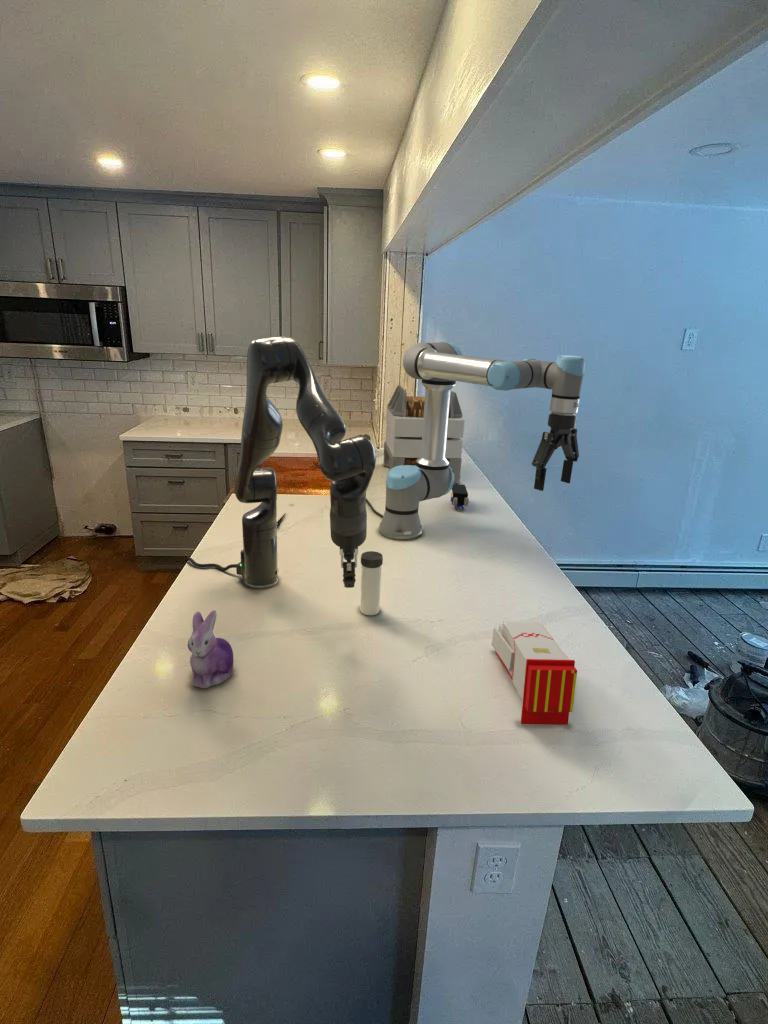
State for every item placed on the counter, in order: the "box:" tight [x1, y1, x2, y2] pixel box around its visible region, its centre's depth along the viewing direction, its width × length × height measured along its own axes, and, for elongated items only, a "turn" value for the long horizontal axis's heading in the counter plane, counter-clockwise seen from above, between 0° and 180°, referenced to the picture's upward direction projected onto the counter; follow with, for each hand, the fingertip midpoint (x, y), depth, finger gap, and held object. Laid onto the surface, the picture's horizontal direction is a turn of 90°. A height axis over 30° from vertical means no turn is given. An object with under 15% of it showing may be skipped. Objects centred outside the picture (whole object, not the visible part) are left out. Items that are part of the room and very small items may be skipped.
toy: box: [491, 621, 578, 726], centre depth 121 cm, size 12×13×30 cm
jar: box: [359, 564, 382, 616], centre depth 146 cm, size 5×5×15 cm
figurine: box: [187, 609, 234, 689], centre depth 117 cm, size 9×10×15 cm
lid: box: [360, 550, 384, 568], centre depth 144 cm, size 6×6×2 cm
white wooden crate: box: [383, 384, 465, 484], centre depth 268 cm, size 34×33×41 cm
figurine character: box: [449, 483, 470, 511], centre depth 230 cm, size 7×8×15 cm
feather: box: [276, 513, 286, 529], centre depth 210 cm, size 2×28×2 cm
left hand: (349, 571), depth 128 cm, fingers open, 8 cm apart
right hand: (552, 485), depth 166 cm, fingers open, 13 cm apart
